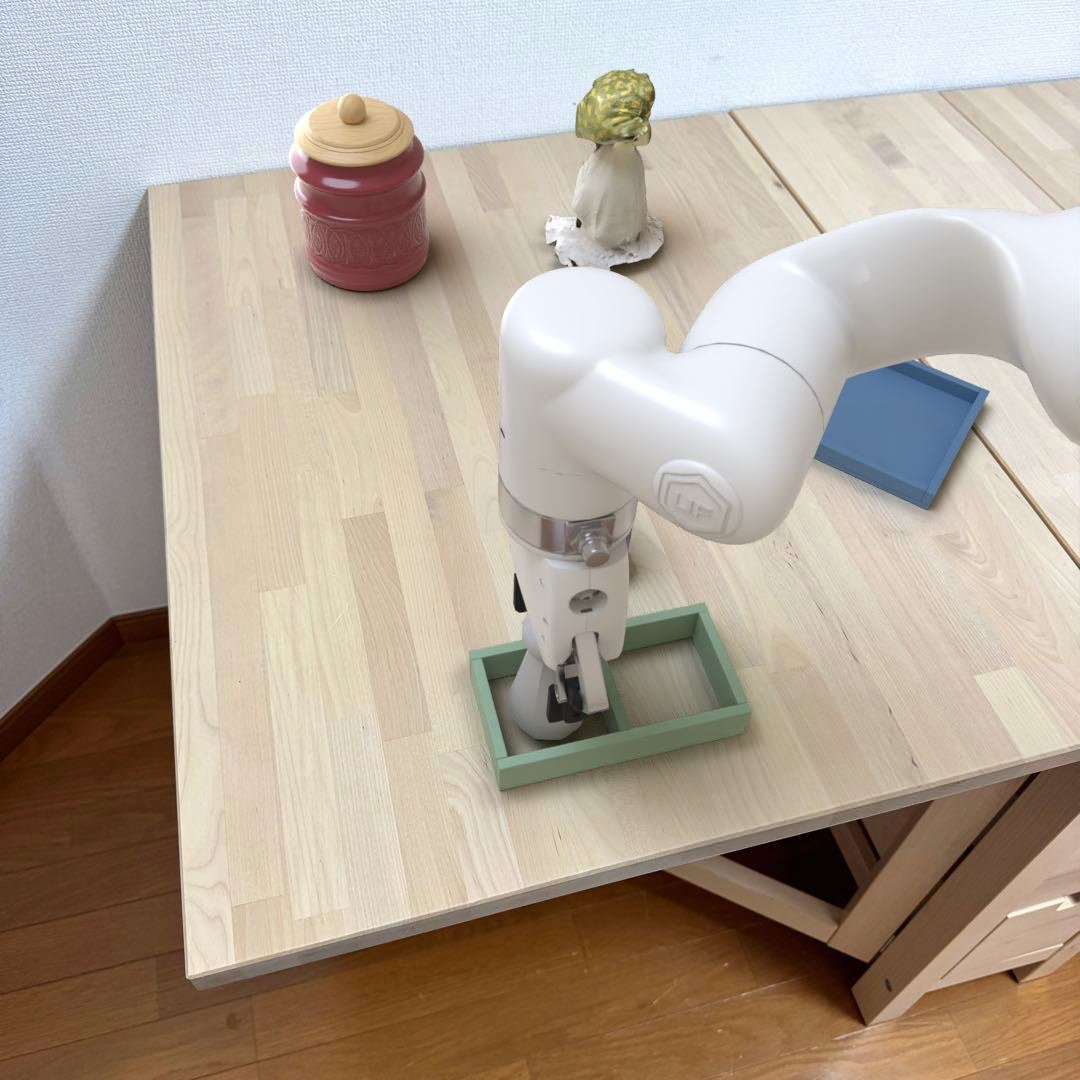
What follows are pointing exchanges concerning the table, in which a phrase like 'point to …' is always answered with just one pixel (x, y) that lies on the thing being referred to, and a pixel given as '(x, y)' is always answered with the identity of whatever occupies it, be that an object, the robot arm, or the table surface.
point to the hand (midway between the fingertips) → (552, 657)
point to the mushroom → (610, 178)
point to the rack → (616, 703)
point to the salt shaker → (536, 692)
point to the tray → (901, 428)
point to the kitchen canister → (361, 193)
